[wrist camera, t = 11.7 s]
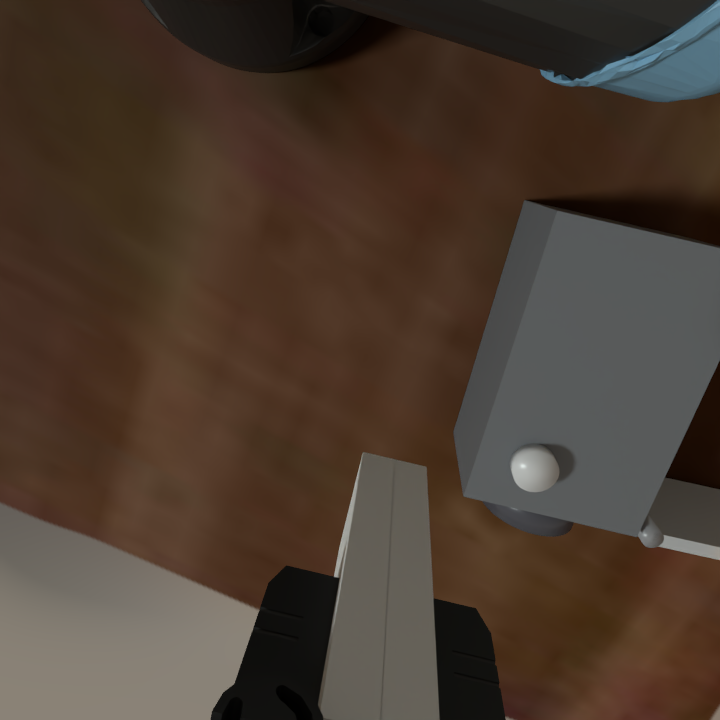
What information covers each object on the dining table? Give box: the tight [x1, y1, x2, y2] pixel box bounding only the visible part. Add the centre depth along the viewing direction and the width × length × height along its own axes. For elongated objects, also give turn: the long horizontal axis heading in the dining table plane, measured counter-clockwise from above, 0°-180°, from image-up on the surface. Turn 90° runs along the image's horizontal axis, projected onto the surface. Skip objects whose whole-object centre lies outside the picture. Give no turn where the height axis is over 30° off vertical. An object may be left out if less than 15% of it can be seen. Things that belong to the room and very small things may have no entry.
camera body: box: [453, 200, 720, 537], centre depth 33 cm, size 18×10×9 cm, turn 168°
